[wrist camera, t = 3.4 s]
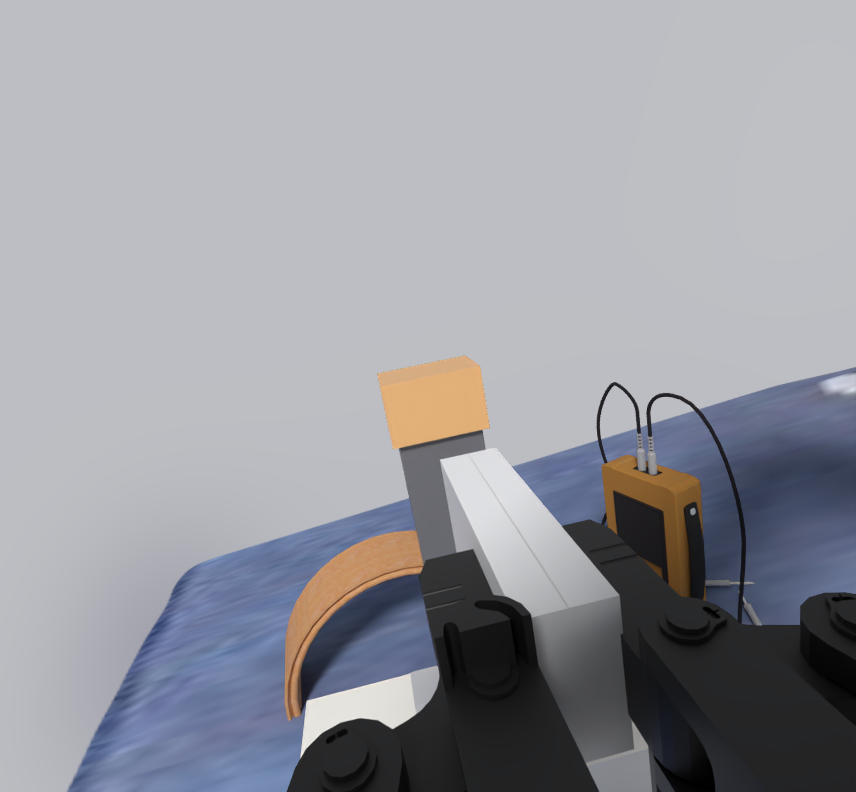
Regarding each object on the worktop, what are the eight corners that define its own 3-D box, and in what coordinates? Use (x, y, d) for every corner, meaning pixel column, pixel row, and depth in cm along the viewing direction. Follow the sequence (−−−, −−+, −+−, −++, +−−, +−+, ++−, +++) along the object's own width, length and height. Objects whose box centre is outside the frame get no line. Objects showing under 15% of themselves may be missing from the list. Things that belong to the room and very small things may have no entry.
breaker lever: (518, 675, 31) (465, 355, 27) (536, 718, 28) (480, 365, 23) (444, 694, 31) (377, 373, 26) (454, 740, 28) (380, 386, 23)
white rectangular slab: (635, 688, 37) (625, 578, 34) (723, 816, 28) (716, 680, 26) (327, 773, 35) (295, 662, 32) (319, 939, 26) (273, 803, 24)
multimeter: (815, 615, 40) (817, 366, 35) (730, 676, 36) (718, 406, 31) (659, 539, 53) (644, 350, 48) (584, 578, 49) (560, 377, 44)
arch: (527, 638, 43) (511, 533, 41) (287, 722, 40) (253, 611, 37) (501, 599, 49) (485, 503, 46) (289, 669, 45) (259, 569, 43)
